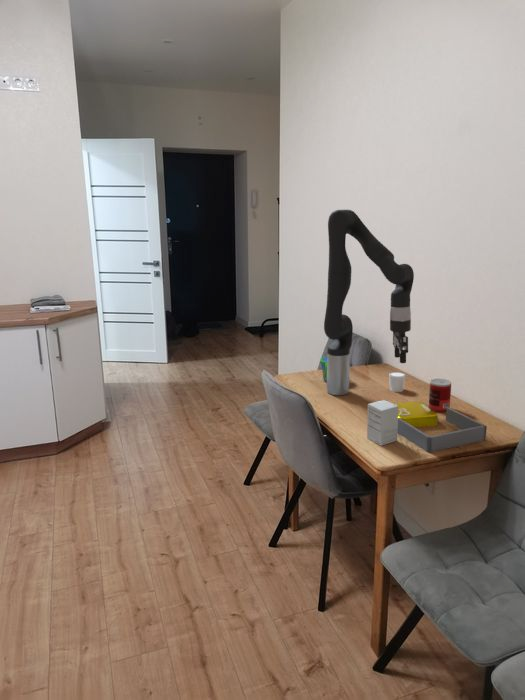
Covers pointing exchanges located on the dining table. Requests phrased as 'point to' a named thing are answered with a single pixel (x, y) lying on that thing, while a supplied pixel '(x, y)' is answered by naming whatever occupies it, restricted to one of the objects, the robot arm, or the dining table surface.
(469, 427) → the box
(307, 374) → the dining table surface
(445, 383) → the canned food
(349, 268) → the robot arm
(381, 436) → the white rectangular box
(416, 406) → the element tile
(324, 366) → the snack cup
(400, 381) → the white piece
